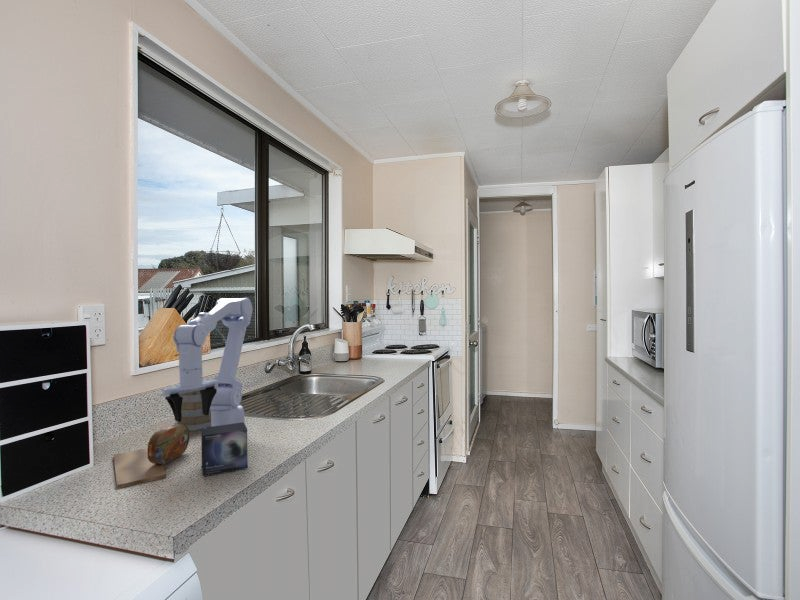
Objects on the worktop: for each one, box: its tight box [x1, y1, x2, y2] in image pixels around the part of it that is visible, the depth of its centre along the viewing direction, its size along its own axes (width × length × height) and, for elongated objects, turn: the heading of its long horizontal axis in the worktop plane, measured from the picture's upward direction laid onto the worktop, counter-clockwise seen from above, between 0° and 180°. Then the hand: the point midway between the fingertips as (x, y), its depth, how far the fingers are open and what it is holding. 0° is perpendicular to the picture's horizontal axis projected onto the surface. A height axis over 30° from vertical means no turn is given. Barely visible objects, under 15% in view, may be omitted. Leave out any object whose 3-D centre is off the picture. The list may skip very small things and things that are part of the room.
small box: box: [200, 422, 249, 477], centre depth 113 cm, size 11×6×10 cm, turn 117°
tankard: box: [174, 390, 211, 432], centre depth 154 cm, size 20×13×15 cm, turn 132°
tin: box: [147, 424, 190, 465], centre depth 119 cm, size 15×3×8 cm, turn 174°
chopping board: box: [113, 447, 167, 489], centre depth 115 cm, size 10×24×1 cm, turn 34°
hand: (192, 417), depth 123 cm, fingers open, 7 cm apart
